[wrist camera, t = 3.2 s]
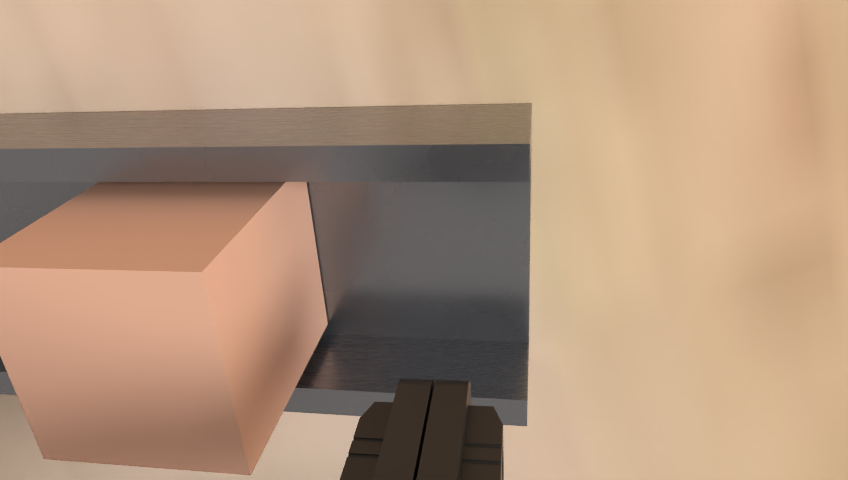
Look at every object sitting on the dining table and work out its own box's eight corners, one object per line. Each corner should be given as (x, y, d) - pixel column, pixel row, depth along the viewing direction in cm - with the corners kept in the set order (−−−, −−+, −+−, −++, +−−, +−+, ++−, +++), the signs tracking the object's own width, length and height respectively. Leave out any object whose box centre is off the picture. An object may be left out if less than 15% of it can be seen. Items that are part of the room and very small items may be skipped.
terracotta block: (303, 162, 20) (201, 272, 14) (327, 323, 23) (250, 475, 17) (128, 163, 21) (-38, 266, 15) (171, 317, 24) (44, 458, 18)
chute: (531, 101, 19) (529, 144, 16) (528, 353, 23) (526, 432, 20) (-196, 116, 24) (-325, 152, 20) (-93, 326, 28) (-186, 387, 24)
